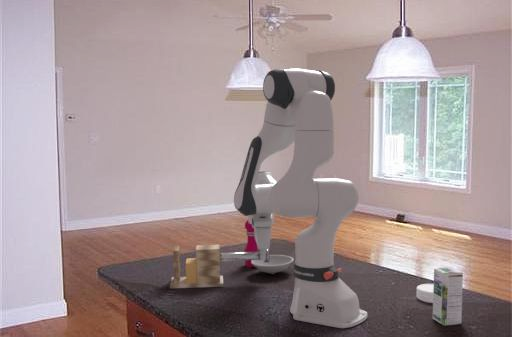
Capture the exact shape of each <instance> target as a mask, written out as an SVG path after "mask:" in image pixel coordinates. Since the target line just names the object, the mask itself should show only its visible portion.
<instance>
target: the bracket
mask: <svg viewBox="0 0 512 337" xmlns="http://www.w3.org/2000/svg"><path fill="white" fill-rule="evenodd" d="M220 246H221V245H220V244H197V245H196V246H195V258H196V273H197V282H196V283H191V284H186V276H181V254H180V253H181V251H180V249H181V246H180V245H174V247H173V255H172V256H173V258H172V259H173V276H172V277H171V279H170V283H169V289H186V288H187V289H189V288H196V289H197V288H218V287H219V288H220V287H224V275H221V261H220V253H221V252H220V249H221V248H220Z"/></svg>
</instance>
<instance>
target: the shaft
mask: <svg viewBox="0 0 512 337" xmlns="http://www.w3.org/2000/svg"><path fill="white" fill-rule="evenodd" d="M269 255H270V248H269V249H268V250H266V260H265V261H264V263H269ZM246 260H260V252H244V251H237V252H220V262H229V261H232V262H233V261H235V262H236V261H239V262H240V261H246Z"/></svg>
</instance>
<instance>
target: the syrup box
mask: <svg viewBox="0 0 512 337" xmlns="http://www.w3.org/2000/svg"><path fill="white" fill-rule="evenodd" d="M463 274H464V272H463V271H459V270H457V269H454V268H453V267H446V266H445V267H444V266H443V267H442V266H441V267H437V268H435V267H434V269H433V284H434V289H433V303H432V320H434V321H436V322H438V323H439V324H441V325H442V326H444V327H445V326H446V327H447V326H456V325H461V324H462V321H463V320H462V318H463V317H462V316H463V313H462V312H463V280H464V279H463V278H464V275H463Z"/></svg>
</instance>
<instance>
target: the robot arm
mask: <svg viewBox="0 0 512 337" xmlns="http://www.w3.org/2000/svg"><path fill="white" fill-rule="evenodd" d="M262 90H263V91H262V92H263V96H264V97H265V99H266V101H267V103H266V105H265V111H264V116H263V123H262V127H261V129H260V131H259V133H258V134H257V136H255V137H254V138H253V139H252V140H251V141H250V144H249V148H248V150H247V155H246V158H245V161H244V164H243V169H242V172H241V176H240V179H239V183H238V185H237V187H236V190H235V192H234V196H233V205H234V207H235V209H236V210H237V212H238V213H240V214H242V215H243V216H245V217H247V218H248V219H249V223H250V224H252V227H253V228H254V237H255V240H256V243H257V247H258V252H260V260H261V261H265V260H266V250H268V249H269V250H270V246H271V235H272V234H271V233H272V227H273V225H274V223H275V214H276V215H278V216H280V217H281V216H283V217H288V218H312V217H314V220H313V222H312V224H310V226H308V227H307V228H305V229H303V230H301V231H300V232H298V234H297V235H296V237H295V240H294V245H295V246H294V249H295V250H294V251H295V252H294V253H295V254H294V256H295V258H294V259H295V260H294V263H293V277H294V287H293V296H292V299H291V300H292V301H291V304H290V307H289V308H290V309H289V312H290V313H291V314H292V318H293V320H295V321H300V322H305V323H311V324H315V325H322V326H327V327H333V328H338V329H347V328H352V327H355V326H357V325H359V324H362V323H363V322H365V321H366V320H367V318H368V311H366V310H364V309H361V308H360V302H359V297H358V295H357V293H356V292H354V291H353V289H351V287H349V286H348V284H346V283H345V282H344V281H343V280H342V279H341V278H340V275H339V273H342V272H343V271H342V267H339V268H337V267H336V264H335V262H334V257H335V256H334V250H335V240H336V235H337V232H338V229H339V228H340V226H341V224H342V222H343V221H344V220H345V219H346V218H347V217H348V216H349V215H350V214H352V213H353V212H354V211H355V209H356V208H357V206H358V203H359V199H360V198H359V191H358V188H357V187H356V185H355V183H354V182H353V181H352V180H348V179H344V178H336V177H329V178H327V177H326V178H325V177H324V178H323V177H321V178H314V174H315V172H316V171H317V170H318V169H319V168H321V167H323V166H324V165H327V163H329V162H330V161H331V160H332V158H333V156H334V150H335V149H334V148H335V147H334V145H335V142H334V141H335V140H334V138H335V137H334V134H335V132H334V129H335V128H334V125H335V123H334V114H333V113H334V112H333V108H332V106H333V105H332V100H333V98H334V96H335V91H336V84H335V80H334V78H333V76H332V75H331V74H330V73H328V72H326V71H323V70H313V69H312V70H311V69H304V68H284V69H283V68H275V69H272V70H269V71H268V72H267V73H266V75H265V77H264V79H263V84H262ZM293 144H294V146H293V147H294V149H293V156H292V161H291V163H290V166H289V167H288V169H287V171H286V173H285V174H284V175H283V176H282V177H281V178H280V179H279V180H276V179H275V178H274V175H273V174H272V172H270V171H267V170H266V171H260V169H261V166H262V164H263V163H264V161H265V160H266V159H267V158H269V157H270V156H272V155H274V154H276V153H277V154H278V153H279V152H281V151H284V150H286V149H288V148H289V147H290V146H291V145H293ZM248 219H247V220H248Z"/></svg>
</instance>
